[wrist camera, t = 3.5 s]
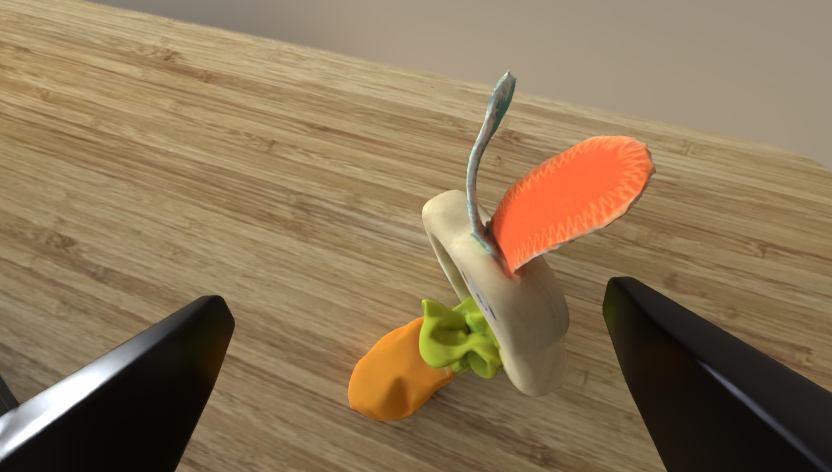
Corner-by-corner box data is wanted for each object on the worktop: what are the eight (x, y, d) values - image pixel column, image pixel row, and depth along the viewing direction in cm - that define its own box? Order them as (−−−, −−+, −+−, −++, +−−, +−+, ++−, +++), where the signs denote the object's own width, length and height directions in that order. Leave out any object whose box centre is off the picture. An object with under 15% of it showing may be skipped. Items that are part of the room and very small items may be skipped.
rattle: (330, 251, 17) (84, 122, 6) (500, 212, 16) (590, -14, 5) (355, 420, 15) (68, 705, 4) (548, 382, 15) (841, 588, 3)
